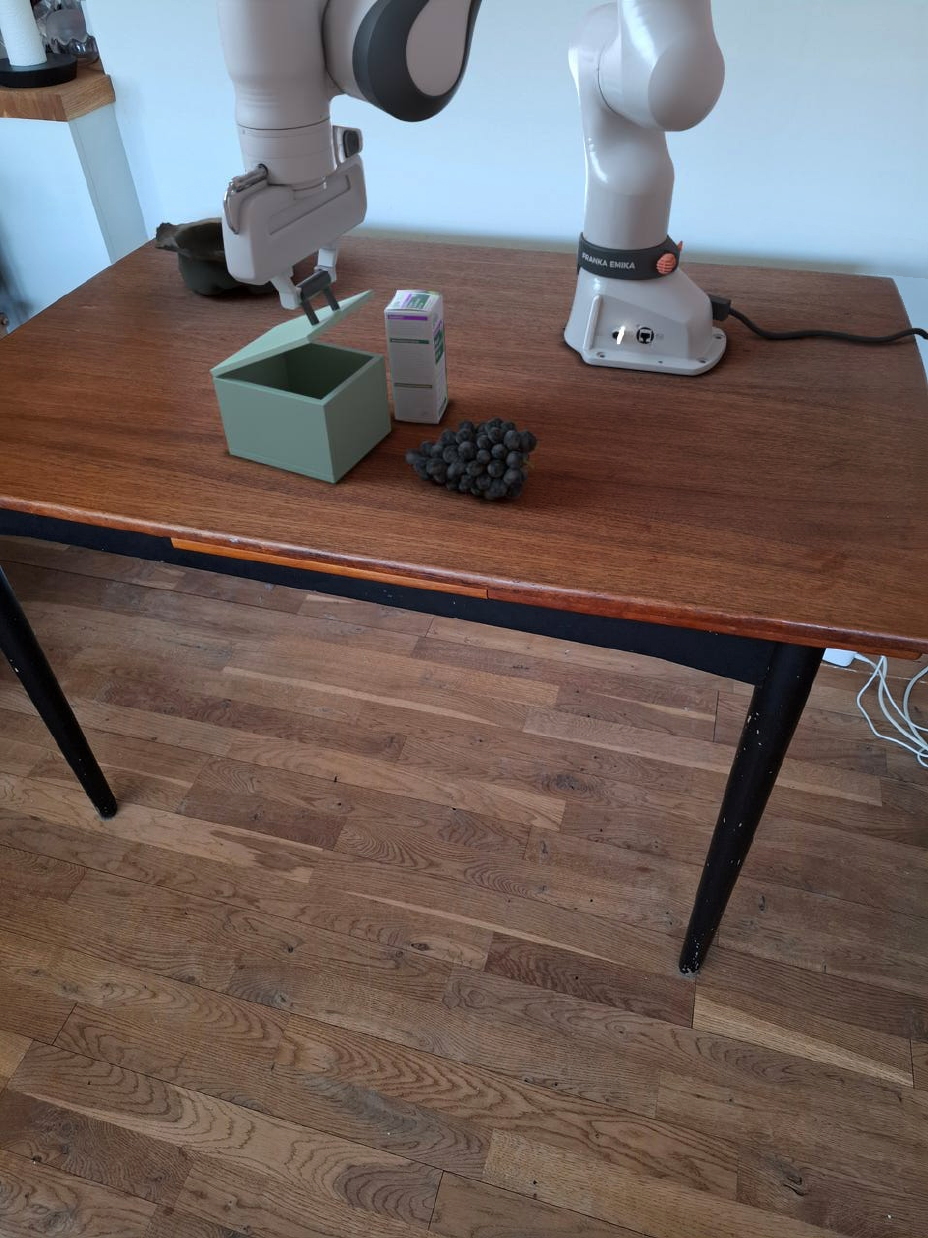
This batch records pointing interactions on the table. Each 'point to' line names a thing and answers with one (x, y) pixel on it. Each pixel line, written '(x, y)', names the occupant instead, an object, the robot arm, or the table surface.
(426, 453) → the fruit
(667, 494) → the table surface
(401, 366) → the syrup box
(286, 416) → the chest
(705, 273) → the table surface
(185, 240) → the stone bowl
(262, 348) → the lid
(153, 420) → the table surface
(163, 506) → the table surface
